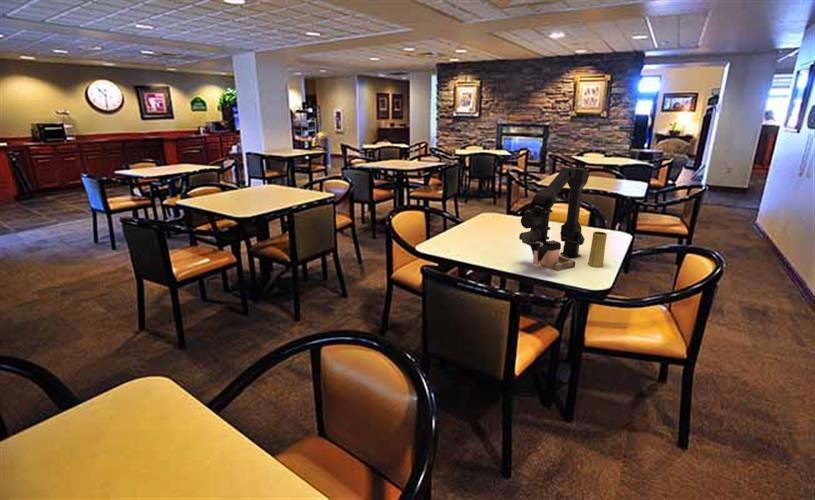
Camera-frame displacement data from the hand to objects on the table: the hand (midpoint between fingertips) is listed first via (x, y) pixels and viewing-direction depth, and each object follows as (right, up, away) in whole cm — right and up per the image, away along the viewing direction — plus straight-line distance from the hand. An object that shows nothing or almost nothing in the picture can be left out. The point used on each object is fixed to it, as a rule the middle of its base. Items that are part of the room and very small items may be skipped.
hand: (537, 260), depth 181 cm
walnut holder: (+9, -2, +5) cm, 10 cm away
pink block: (+4, -3, +3) cm, 6 cm away
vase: (+27, -2, +5) cm, 27 cm away
